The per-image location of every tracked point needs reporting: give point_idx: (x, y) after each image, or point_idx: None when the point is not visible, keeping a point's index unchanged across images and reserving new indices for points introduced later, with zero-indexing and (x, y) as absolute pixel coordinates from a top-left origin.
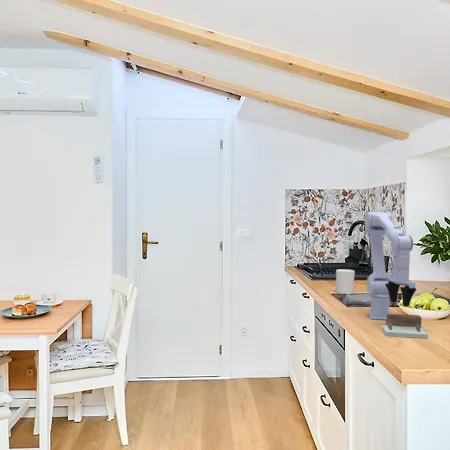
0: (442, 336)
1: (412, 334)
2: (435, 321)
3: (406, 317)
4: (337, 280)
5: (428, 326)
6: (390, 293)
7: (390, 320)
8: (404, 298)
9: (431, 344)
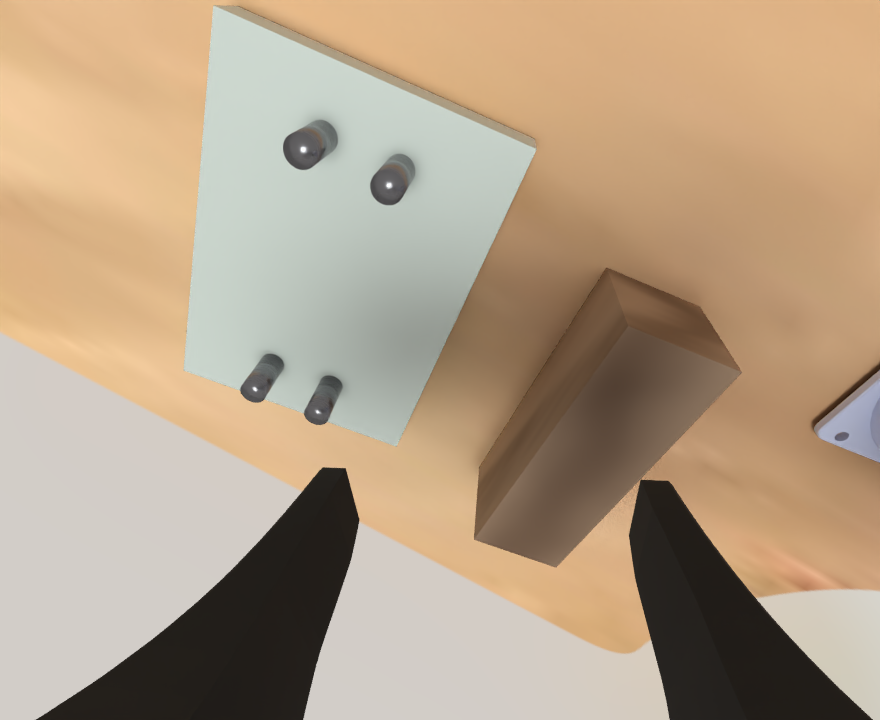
0: (276, 465)
1: (196, 270)
2: (632, 624)
3: (528, 457)
4: None
5: None
6: (697, 608)
7: (605, 319)
8: (239, 563)
9: (41, 285)
